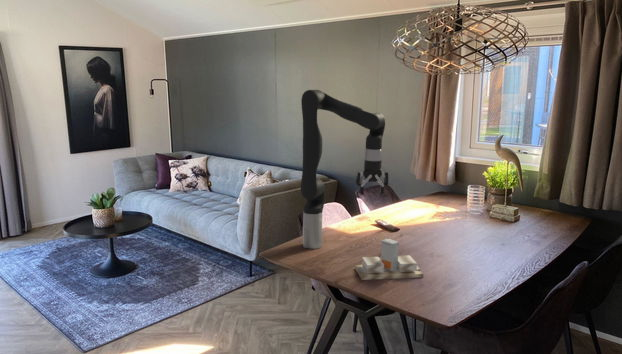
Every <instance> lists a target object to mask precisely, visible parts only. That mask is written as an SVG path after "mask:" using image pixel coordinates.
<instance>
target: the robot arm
mask: <svg viewBox="0 0 622 354" xmlns="http://www.w3.org/2000/svg"><path fill="white" fill-rule="evenodd" d="M318 110H323V111H328V112H330V113H333V114H335V115H337V116H339V117H340V118H342V119H344V120H346V121H349V122H352V123H355V124H358V125H359V126H361V127H363V128H364V129H366V130H369V132H368V135H367V136H366V138H365V150H364V162H363V165H364V166H363V171H357V172H356V176H355V185H356V186H357V187H359V194H360V195H361V196H364V193H365V191H364V188H365V187H364V186H365V185H366V184H367V183H368V182H369V183H371V182H375V183H378V184H379V191H378V192H379V195H380V196H383V194H384V191H385V187H386V186H389V172H388V171H386V170H385V171H382V160H383V151H382V146H383V136H384V133H385V127H386V119H385V116H384V115H383V114H382V113H380V112H375V113H373V112H369V111H366V110H365V109H364V108H362V107H359V106H357V105H354V104H352V103H347V102H344V101H342V100H338V99H336V98H334V97H332V96H330V94H329V95H328V94H327V93H325V92H324V91H322V90H320V89H308V90H305V91H304V92H303V94H302V95H301V114H302V171H301V172H302V173H301V181H300V182H301V183H300V193H301V196H302V197H303V198H304V199H305V200H306V202H305V203H304V205H303V210H302V211H303V213H302V214H303V218H302V220H303V222H302V223H303V224H302V246H303V248H304V249H311V250H312V249H313V250H315V249H320V248H322V246H323V209H324V206H325V197H326V196H325V195H326V193H325V192H326V189H325V188H326V187H325V183H324V182H323V180H321V179H319V178H318V177H317V174H318V173H317V171H318V169H319V168H318V167H319V164H320V162H321V158H322V155H323V135H322V133H321V129H320V127H319V124H318ZM362 176H363V179H362V181H361V177H362ZM381 177H383V178H384V179H383V181H382V180H381V179H380V178H381Z"/></svg>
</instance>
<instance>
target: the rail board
mask: <svg viewBox="0 0 622 354" xmlns="http://www.w3.org/2000/svg"><path fill="white" fill-rule="evenodd" d="M361 259H362V261H361V264H356V265H355V270H356V272H357V273H358V275H359V278H360V280H362V281H365V280H369V281H370V280H387V279H388V280H389V279H391V280H392V279H410V278H424V272H423V271H421V268H420V266H419V265H418V263H417V261H416V260H414V258H413V257H412V256H411V255H398V268H397V269H395V270H393V271H390V270H388V269H386V268H384V264H383V262H382V261H381V257H379V256H362V257H361Z"/></svg>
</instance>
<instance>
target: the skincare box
mask: <svg viewBox="0 0 622 354" xmlns="http://www.w3.org/2000/svg"><path fill="white" fill-rule="evenodd" d="M399 246H400V241H397V240H395V239H390V238H386V239H382V240H381V252H380V253H381V255H380V260H381V261H382V262H383V264H384V268H386V269H388V270H390V271H393V270H395V269H397V268H398V256H399Z"/></svg>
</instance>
